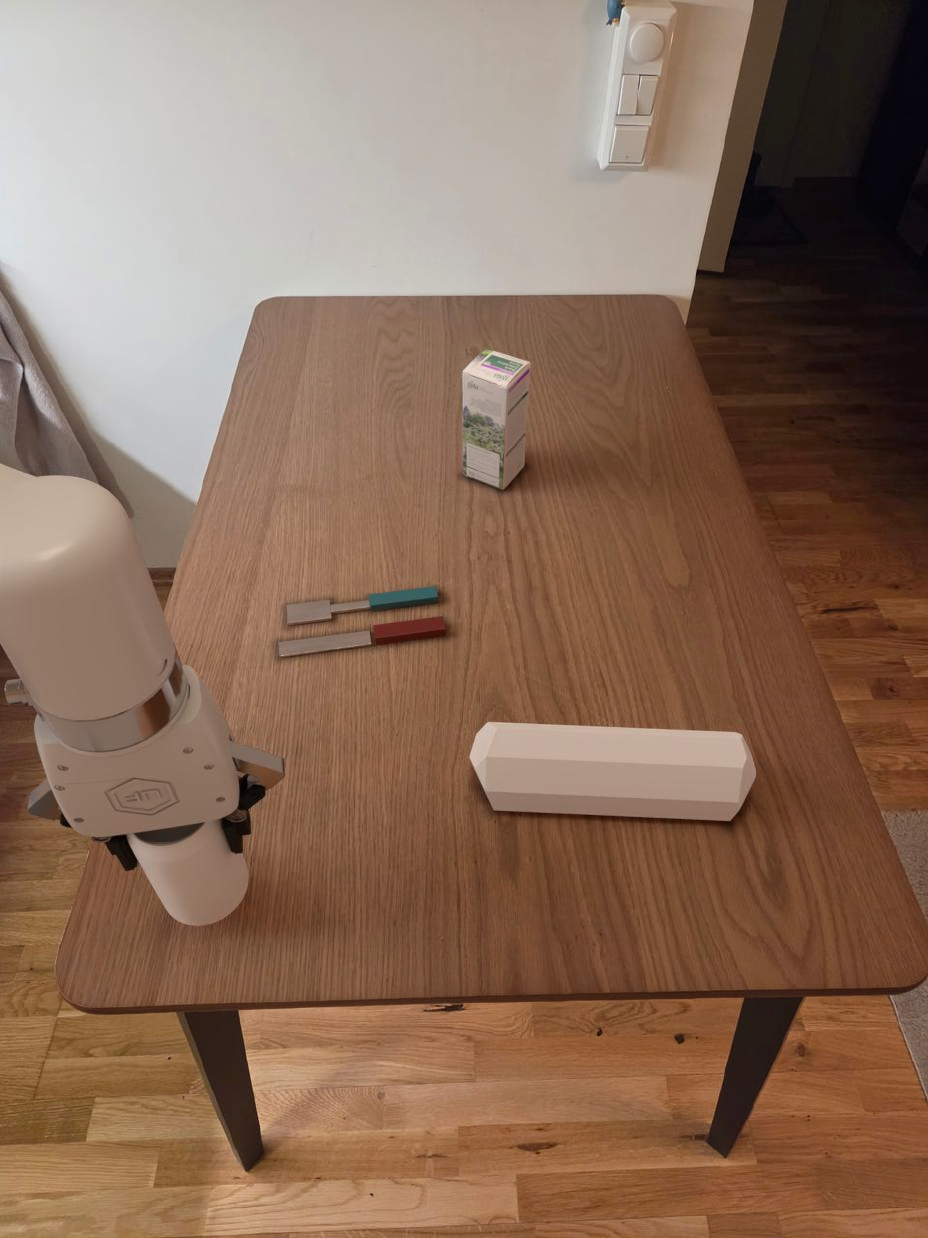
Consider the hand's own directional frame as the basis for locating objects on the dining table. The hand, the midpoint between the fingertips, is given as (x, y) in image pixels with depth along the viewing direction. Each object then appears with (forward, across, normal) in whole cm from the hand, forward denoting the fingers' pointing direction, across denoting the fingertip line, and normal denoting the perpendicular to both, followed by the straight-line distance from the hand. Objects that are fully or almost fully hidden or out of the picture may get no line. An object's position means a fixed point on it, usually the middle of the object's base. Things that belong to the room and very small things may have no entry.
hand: (185, 842), depth 60 cm
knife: (+9, +14, +25) cm, 30 cm away
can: (+7, 0, 0) cm, 7 cm away
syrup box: (+9, +32, +49) cm, 59 cm away
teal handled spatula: (+9, +14, +29) cm, 34 cm away
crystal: (+9, +33, +5) cm, 35 cm away
